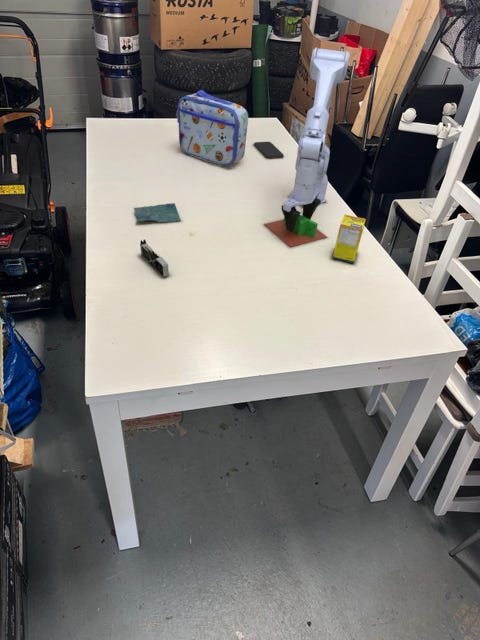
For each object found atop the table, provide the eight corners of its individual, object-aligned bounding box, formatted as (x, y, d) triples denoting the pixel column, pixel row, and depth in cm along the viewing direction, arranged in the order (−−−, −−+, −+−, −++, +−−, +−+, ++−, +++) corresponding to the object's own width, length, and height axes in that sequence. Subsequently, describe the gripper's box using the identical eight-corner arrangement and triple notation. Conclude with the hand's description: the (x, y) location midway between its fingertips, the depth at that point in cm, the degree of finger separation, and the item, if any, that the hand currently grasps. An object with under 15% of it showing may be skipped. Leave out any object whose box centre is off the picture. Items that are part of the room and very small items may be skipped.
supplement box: (356, 253, 129) (366, 218, 122) (353, 264, 125) (363, 228, 117) (335, 248, 130) (344, 213, 123) (332, 259, 126) (340, 223, 119)
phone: (270, 141, 187) (284, 155, 177) (269, 143, 188) (284, 157, 177) (253, 142, 185) (266, 156, 174) (252, 144, 185) (266, 158, 175)
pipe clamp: (277, 226, 137) (279, 212, 134) (285, 222, 139) (287, 208, 136) (307, 241, 131) (309, 227, 128) (315, 237, 133) (318, 223, 130)
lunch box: (171, 152, 174) (170, 89, 159) (188, 144, 181) (188, 83, 166) (232, 172, 164) (236, 107, 149) (247, 163, 171) (253, 100, 156)
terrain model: (175, 208, 141) (175, 202, 139) (180, 221, 135) (180, 216, 134) (132, 212, 137) (132, 206, 136) (136, 226, 132) (136, 220, 131)
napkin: (299, 216, 143) (299, 215, 143) (326, 237, 134) (326, 236, 134) (264, 224, 137) (264, 223, 137) (290, 247, 129) (290, 246, 129)
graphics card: (141, 256, 121) (135, 242, 117) (149, 252, 122) (143, 237, 118) (163, 279, 114) (158, 264, 110) (172, 273, 115) (167, 259, 111)
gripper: (309, 169, 131) (301, 212, 140) (277, 183, 123) (271, 228, 132) (329, 178, 128) (320, 221, 137) (298, 193, 119) (290, 238, 128)
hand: (297, 225), depth 134 cm, fingers open, 7 cm apart
